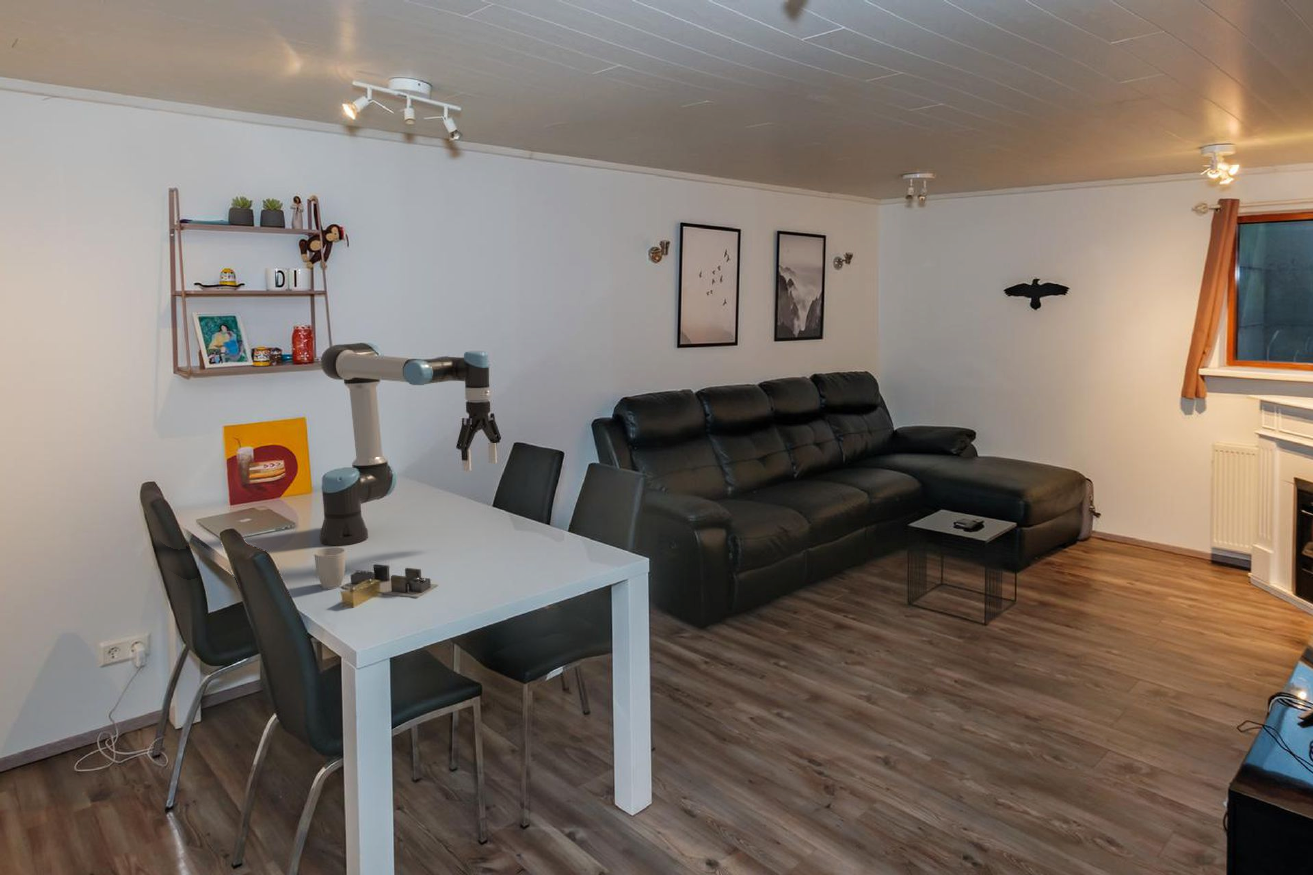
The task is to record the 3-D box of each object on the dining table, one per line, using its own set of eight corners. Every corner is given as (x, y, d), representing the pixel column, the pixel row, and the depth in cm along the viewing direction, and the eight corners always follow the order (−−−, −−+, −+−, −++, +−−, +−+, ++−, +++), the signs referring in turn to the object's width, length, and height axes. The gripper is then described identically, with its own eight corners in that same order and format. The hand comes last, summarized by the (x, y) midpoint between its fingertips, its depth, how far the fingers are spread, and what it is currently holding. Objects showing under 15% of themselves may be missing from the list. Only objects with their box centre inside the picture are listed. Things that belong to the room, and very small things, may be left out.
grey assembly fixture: (347, 585, 231) (346, 570, 231) (364, 577, 238) (363, 562, 238) (418, 594, 224) (417, 579, 223) (433, 585, 231) (433, 570, 230)
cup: (336, 578, 238) (333, 545, 237) (353, 584, 234) (351, 550, 232) (310, 586, 232) (308, 552, 230) (327, 592, 227) (325, 557, 225)
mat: (343, 588, 230) (343, 587, 230) (366, 577, 240) (366, 575, 240) (417, 597, 223) (417, 596, 223) (438, 585, 232) (438, 584, 232)
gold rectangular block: (353, 608, 216) (352, 591, 215) (342, 606, 217) (341, 589, 217) (380, 594, 226) (379, 577, 226) (369, 592, 228) (368, 576, 227)
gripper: (462, 405, 249) (465, 474, 252) (510, 397, 271) (512, 460, 275) (442, 404, 252) (445, 472, 255) (491, 395, 274) (493, 458, 278)
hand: (480, 466), depth 265 cm, fingers open, 13 cm apart
